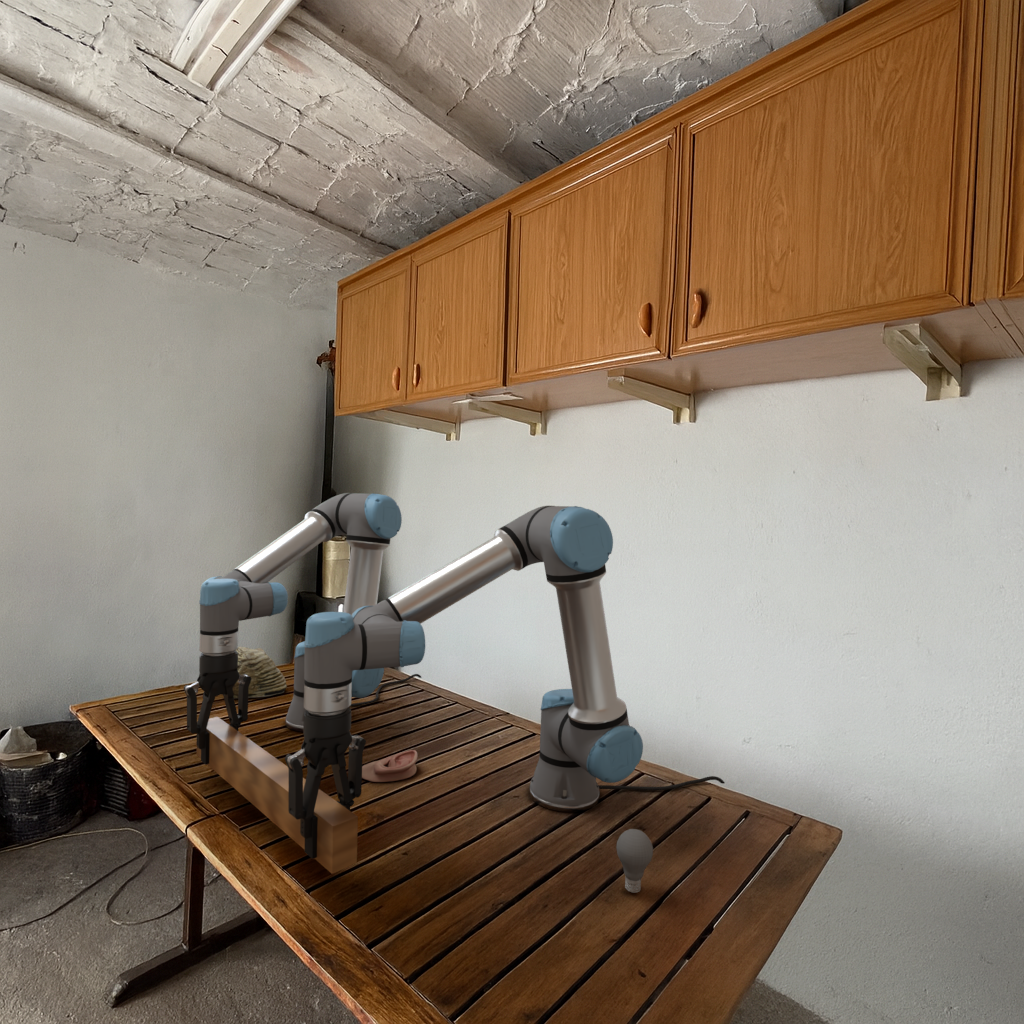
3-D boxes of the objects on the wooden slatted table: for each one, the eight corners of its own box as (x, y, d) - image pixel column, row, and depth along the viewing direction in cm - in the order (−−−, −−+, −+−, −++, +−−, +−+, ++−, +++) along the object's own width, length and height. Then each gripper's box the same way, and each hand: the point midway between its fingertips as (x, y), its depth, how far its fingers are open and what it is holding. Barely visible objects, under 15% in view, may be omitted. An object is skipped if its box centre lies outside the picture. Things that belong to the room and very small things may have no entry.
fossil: (218, 695, 195) (220, 647, 195) (278, 685, 208) (279, 640, 207) (228, 703, 189) (230, 653, 188) (289, 692, 201) (290, 645, 201)
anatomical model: (349, 761, 142) (371, 742, 154) (348, 778, 142) (370, 758, 154) (405, 768, 140) (423, 749, 151) (404, 786, 140) (422, 765, 151)
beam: (196, 755, 140) (196, 721, 139) (217, 749, 143) (217, 716, 142) (332, 874, 98) (333, 826, 98) (356, 862, 101) (358, 816, 101)
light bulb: (610, 879, 108) (613, 822, 108) (644, 879, 109) (647, 822, 109) (619, 902, 102) (622, 840, 102) (655, 901, 103) (658, 840, 103)
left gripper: (181, 662, 127) (179, 776, 128) (266, 648, 139) (264, 753, 140) (168, 654, 132) (167, 764, 133) (252, 642, 145) (250, 742, 146)
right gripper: (287, 727, 95) (284, 880, 95) (386, 702, 107) (383, 838, 108) (265, 714, 100) (263, 859, 101) (362, 691, 112) (359, 821, 113)
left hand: (217, 758), depth 137 cm, fingers closed on beam, 4 cm apart
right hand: (325, 848), depth 104 cm, fingers closed on beam, 4 cm apart
